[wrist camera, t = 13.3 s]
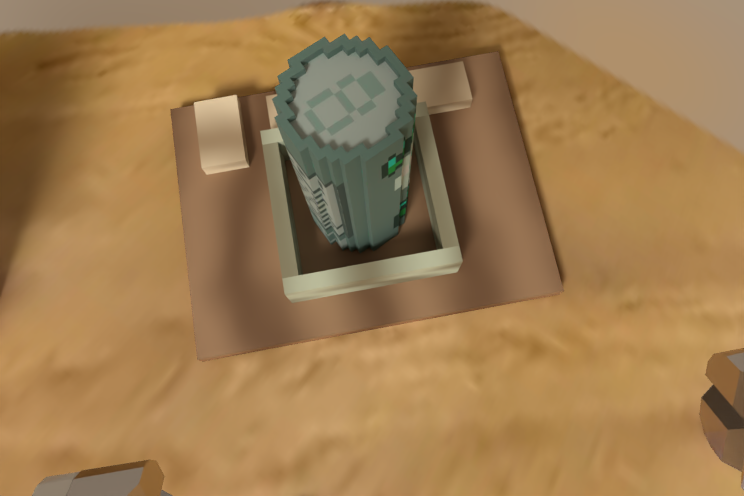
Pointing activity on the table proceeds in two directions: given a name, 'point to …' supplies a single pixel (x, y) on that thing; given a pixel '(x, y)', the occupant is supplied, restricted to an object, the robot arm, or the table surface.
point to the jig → (369, 269)
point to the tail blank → (221, 135)
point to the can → (349, 137)
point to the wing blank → (427, 89)
